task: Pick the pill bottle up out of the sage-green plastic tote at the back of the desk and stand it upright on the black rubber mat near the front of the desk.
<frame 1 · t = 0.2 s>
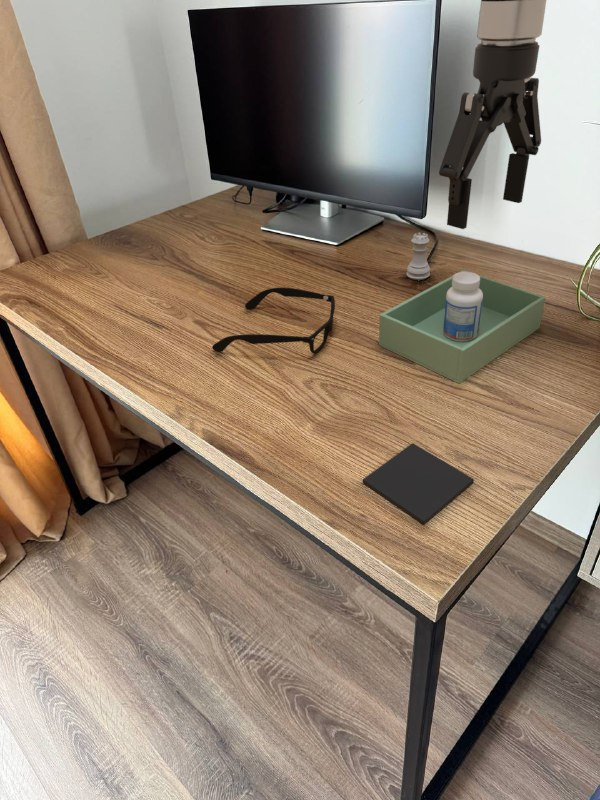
hand: (485, 213, 84), 19 cm above the table, tool pointing down, fingers open, 13 cm apart
mat: (417, 482, 68), on the table
tote: (459, 336, 93), on the table
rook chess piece: (418, 276, 111), on the table
glasses: (279, 334, 97), on the table
pill bottle: (460, 334, 93), resting on tote
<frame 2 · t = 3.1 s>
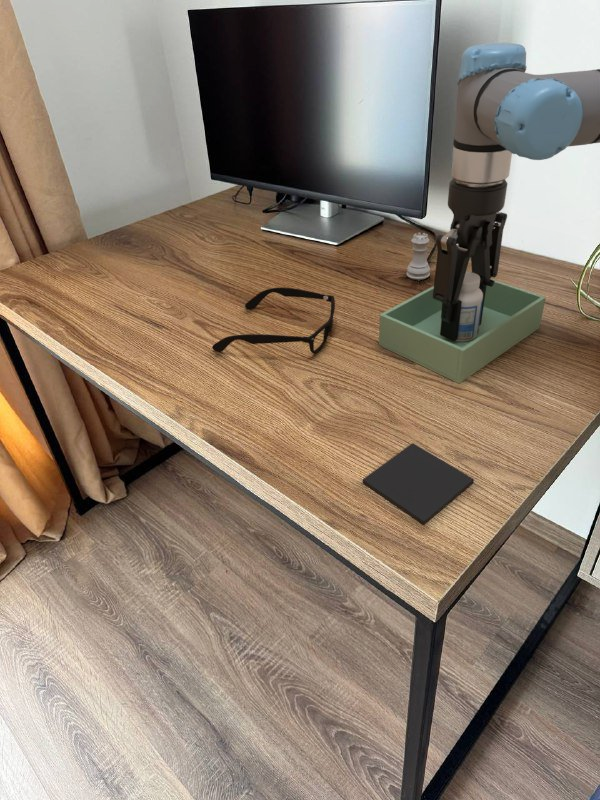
hand: (460, 329, 92), 1 cm above the table, tool pointing down, fingers closed on pill bottle, 5 cm apart
pill bottle: (460, 334, 93), resting on tote, touching gripper
everything else where it was.
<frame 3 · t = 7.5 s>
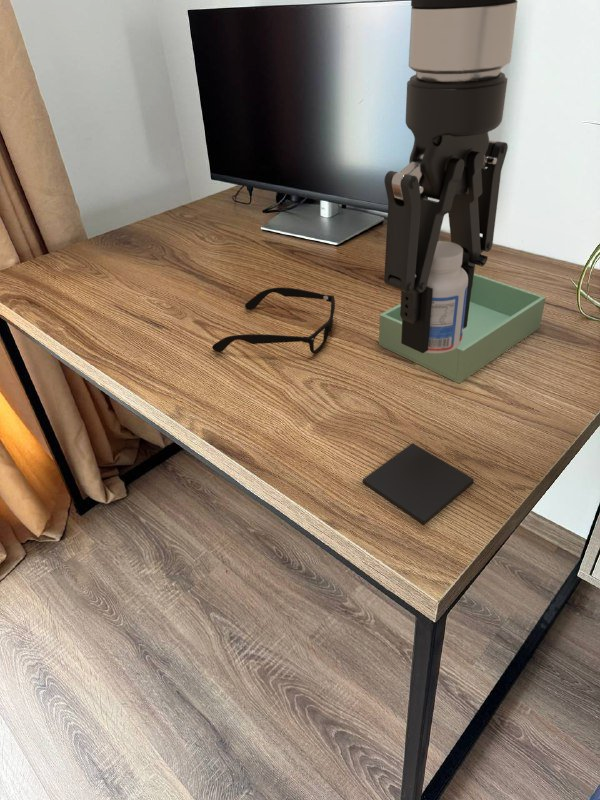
hand: (434, 334, 59), 19 cm above the table, tool pointing down, fingers closed on pill bottle, 5 cm apart
pill bottle: (433, 342, 59), point 18 cm above the table, touching gripper
everything else where it was.
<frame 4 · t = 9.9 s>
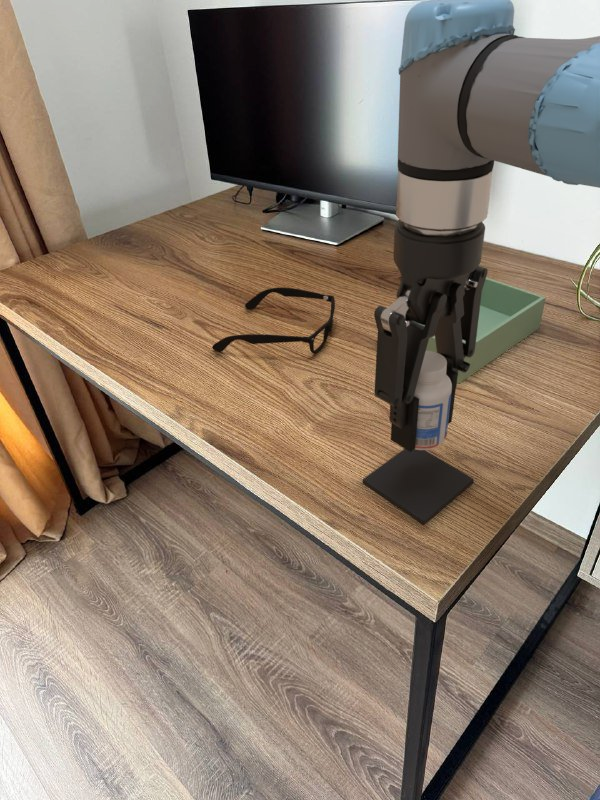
hand: (421, 430, 63), 8 cm above the table, tool pointing down, fingers closed on pill bottle, 5 cm apart
pill bottle: (420, 437, 64), point 7 cm above the table, touching gripper
everything else where it was.
when the fingers open (1 cm above the table, at t = 11.8 s): pill bottle stays where it is, resting on mat.
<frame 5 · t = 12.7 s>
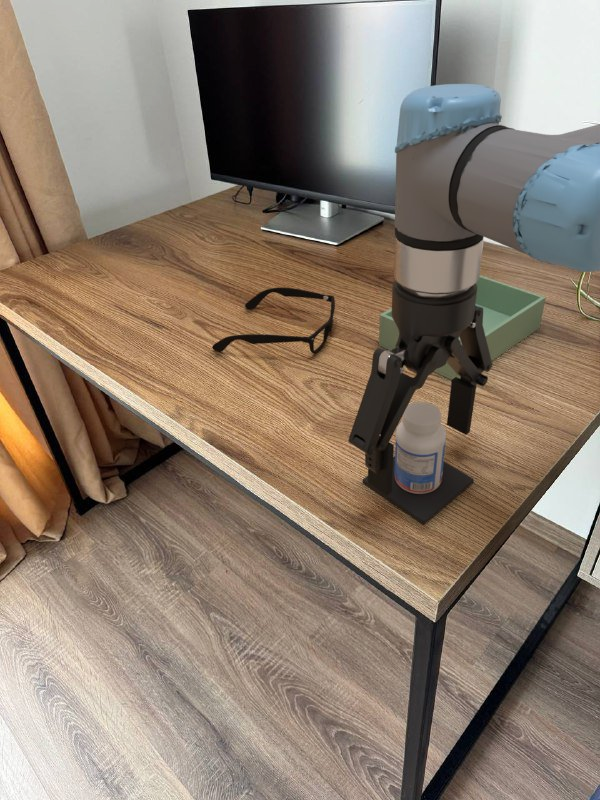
hand: (421, 456, 65), 4 cm above the table, tool pointing down, fingers open, 13 cm apart
pill bottle: (417, 480, 68), resting on mat
everything else where it was.
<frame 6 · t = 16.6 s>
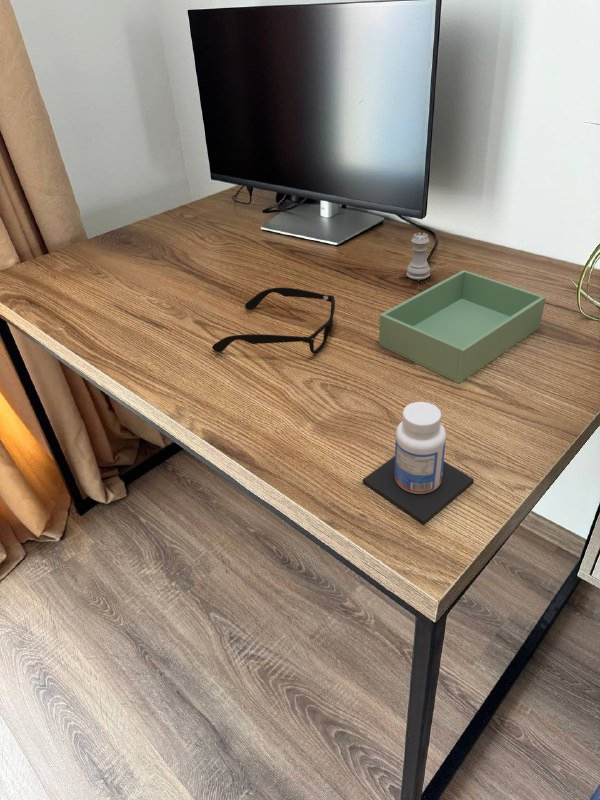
nothing on the table moved.
at the end: pill bottle inside the target area on the mat (0.1 cm from its centre), point 0.4 cm above the mat's base; pill bottle tilted 0°; the gripper is holding nothing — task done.
